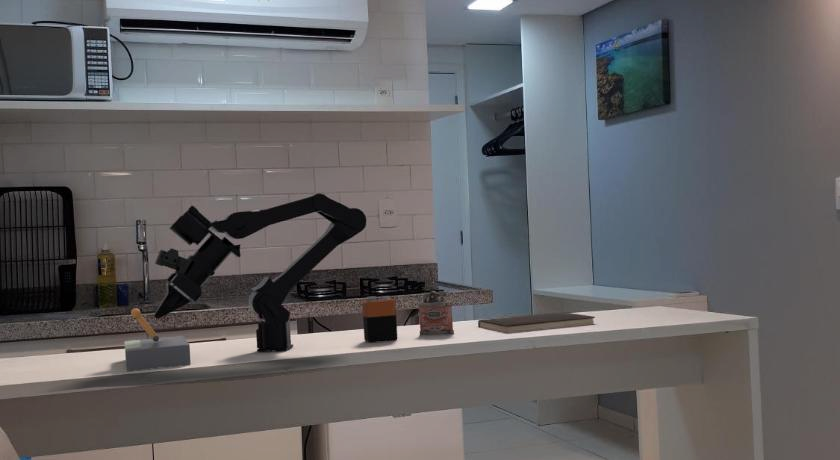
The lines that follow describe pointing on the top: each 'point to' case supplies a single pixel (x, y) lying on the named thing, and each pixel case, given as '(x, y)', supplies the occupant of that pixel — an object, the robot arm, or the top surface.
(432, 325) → the red perfume bottle
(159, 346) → the block
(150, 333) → the lever
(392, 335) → the battery
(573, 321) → the hardcover book
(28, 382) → the top surface
